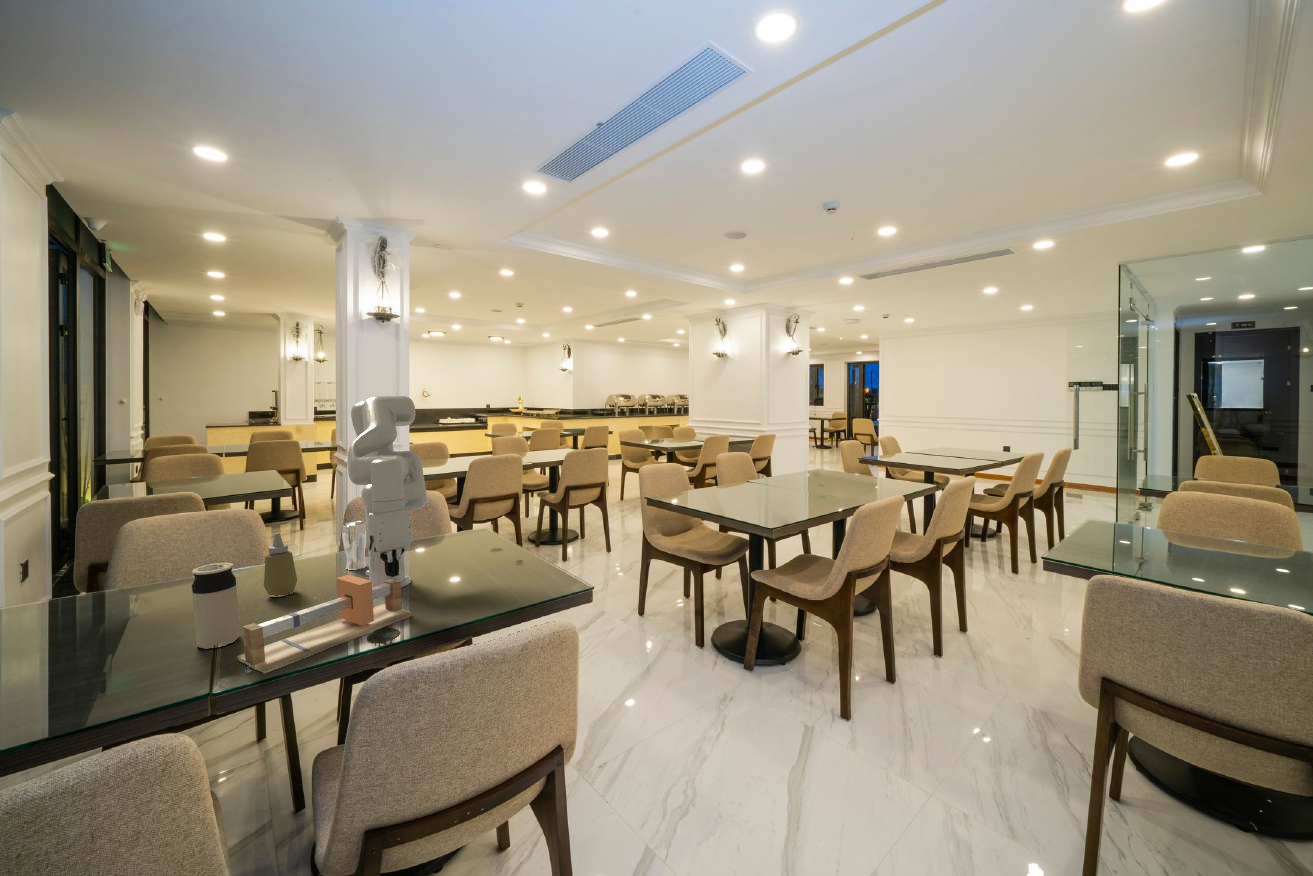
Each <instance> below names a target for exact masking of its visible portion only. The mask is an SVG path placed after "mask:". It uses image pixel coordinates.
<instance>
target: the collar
mask: <svg viewBox="0 0 1313 876" xmlns="http://www.w3.org/2000/svg"><path fill="white" fill-rule="evenodd" d="M335 582H336V592H337V594H336V595H337V599H338V598H341V597H344V596H347V595H350V596H352V598H353V607H351V608H348V609H345V610H342V611H340V612H337V613H338V618H339V619H345V620H348V621H351V622H354V623H356V624H359V625H365V624H367V623H370V622H373V621H374V612H373V607H374V601H373V595H372V581H369V579H366V578H362V577H359V576H358V577H357V576H354V575H351V574H347V575H342V576H338V577H336V581H335Z"/></svg>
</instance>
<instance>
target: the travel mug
mask: <svg viewBox="0 0 1313 876" xmlns="http://www.w3.org/2000/svg"><path fill="white" fill-rule="evenodd" d="M233 568H234V563H233V562H214V563H211V564H210V563H209V564H205V565H201V566H199V567H195V568H193V569H192V571H191V573H192V574H193V577H194V580H193V582H192V584H191V594H192V605H193V618H194V627H195V639H196V640H195V641H196V646H197V645H201V646H212V645H219V644H221V643H226V642H229V641H230V640H234V639H236V638H237V637H239V636H240V637H241V625H240V614H239V602H238V601H239V600H238V590H237V589H238V588H237V587H238V586H237V578H236V576H235V575H234V573H233V572H232V571H233Z"/></svg>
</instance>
